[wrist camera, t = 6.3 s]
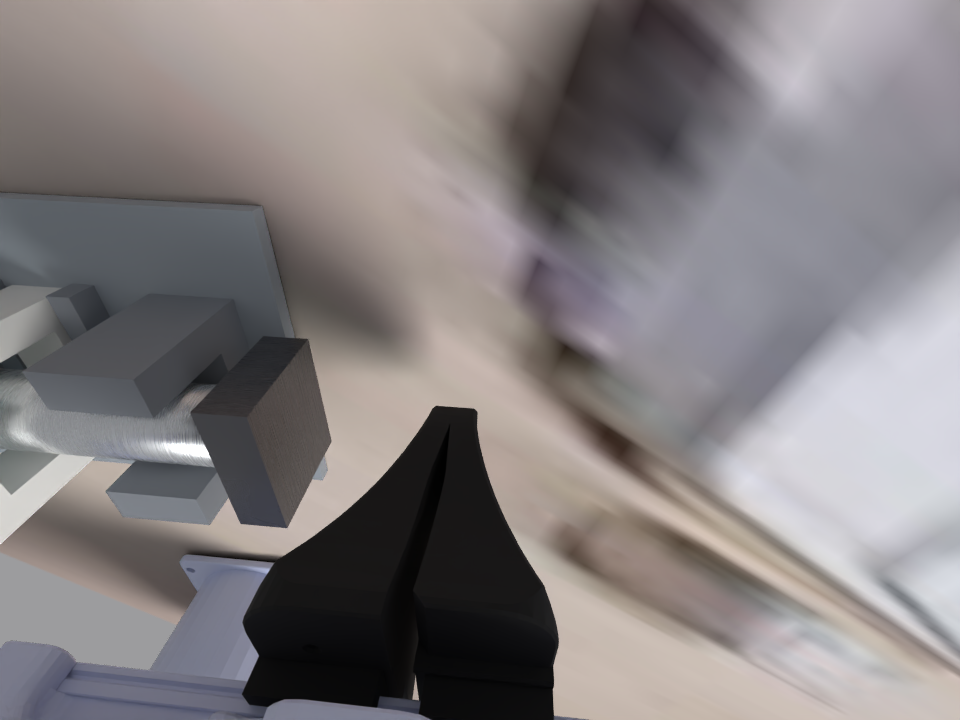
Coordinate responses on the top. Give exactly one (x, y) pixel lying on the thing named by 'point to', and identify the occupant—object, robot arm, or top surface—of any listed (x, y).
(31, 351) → the spacer
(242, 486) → the shaft
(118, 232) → the jig
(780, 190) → the top surface
